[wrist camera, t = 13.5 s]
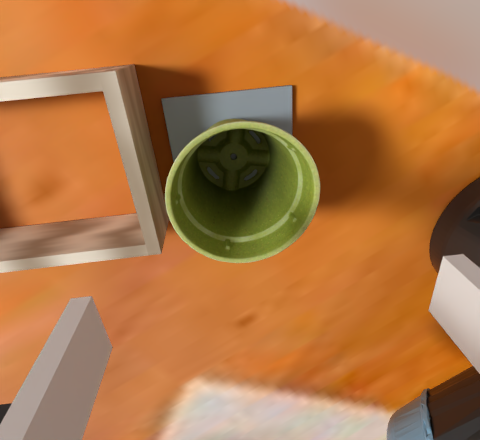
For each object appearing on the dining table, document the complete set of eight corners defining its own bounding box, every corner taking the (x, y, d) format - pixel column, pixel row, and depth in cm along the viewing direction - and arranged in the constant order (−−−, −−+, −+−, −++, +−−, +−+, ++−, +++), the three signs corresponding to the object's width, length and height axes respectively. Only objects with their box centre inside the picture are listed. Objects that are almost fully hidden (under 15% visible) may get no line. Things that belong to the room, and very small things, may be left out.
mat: (291, 84, 25) (292, 85, 25) (291, 200, 30) (292, 202, 30) (162, 98, 25) (161, 99, 24) (184, 212, 30) (183, 214, 29)
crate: (134, 64, 23) (115, 70, 19) (168, 219, 30) (161, 253, 25) (-136, 91, 23) (-226, 104, 18) (-41, 243, 29) (-90, 283, 25)
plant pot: (311, 157, 28) (349, 201, 20) (231, 224, 30) (238, 286, 23) (238, 68, 24) (251, 82, 16) (153, 154, 26) (130, 200, 19)
